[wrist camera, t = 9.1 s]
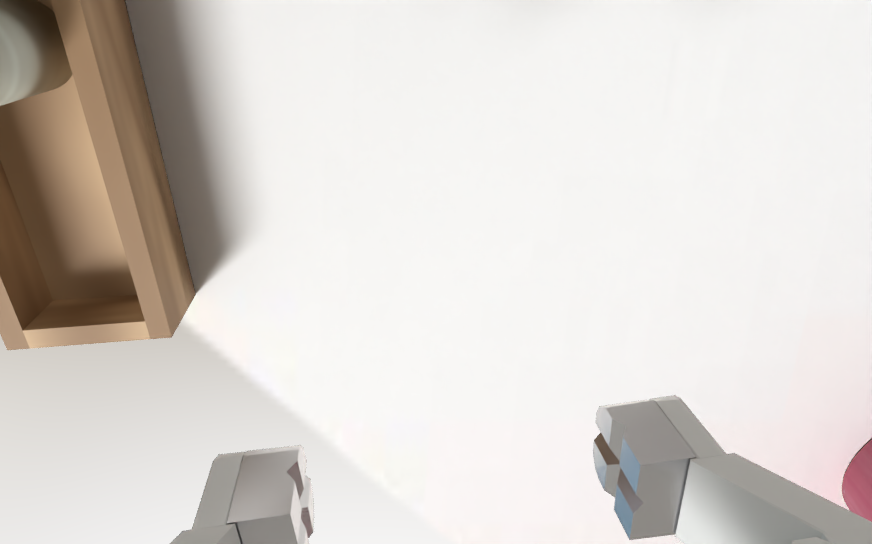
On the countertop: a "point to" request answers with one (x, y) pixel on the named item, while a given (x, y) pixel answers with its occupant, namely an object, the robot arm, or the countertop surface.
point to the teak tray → (82, 183)
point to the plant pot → (859, 483)
